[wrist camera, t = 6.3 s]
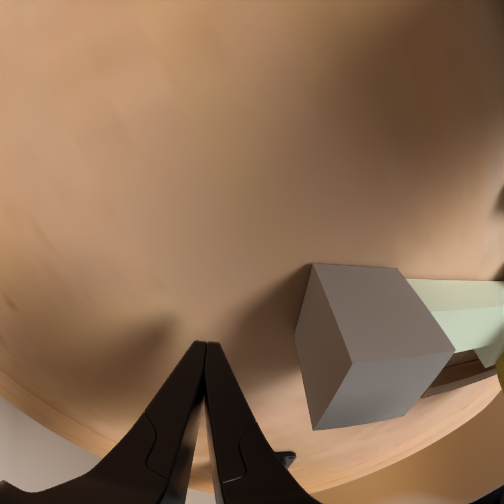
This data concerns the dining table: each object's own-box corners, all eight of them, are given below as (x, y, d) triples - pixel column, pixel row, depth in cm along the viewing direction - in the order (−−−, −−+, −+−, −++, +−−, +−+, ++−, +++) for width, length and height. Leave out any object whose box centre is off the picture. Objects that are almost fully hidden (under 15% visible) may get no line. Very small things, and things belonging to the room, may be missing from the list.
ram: (478, 343, 15) (509, 390, 11) (285, 363, 14) (299, 449, 10) (529, 248, 11) (576, 291, 7) (323, 215, 10) (381, 303, 6)
